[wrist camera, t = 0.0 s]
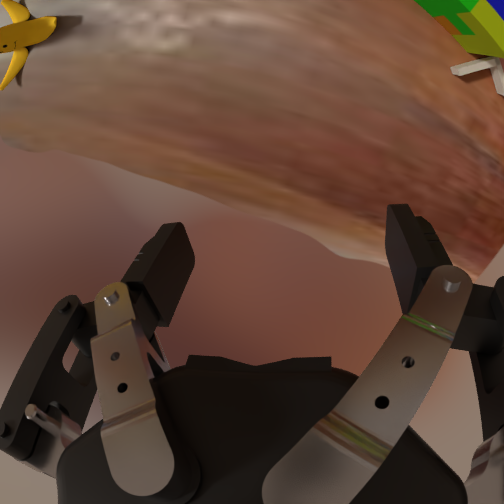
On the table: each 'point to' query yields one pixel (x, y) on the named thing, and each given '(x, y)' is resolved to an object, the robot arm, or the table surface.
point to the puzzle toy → (471, 23)
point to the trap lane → (499, 68)
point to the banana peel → (22, 36)
